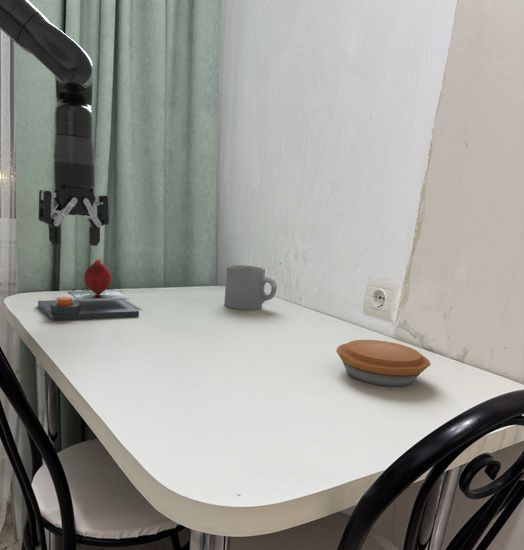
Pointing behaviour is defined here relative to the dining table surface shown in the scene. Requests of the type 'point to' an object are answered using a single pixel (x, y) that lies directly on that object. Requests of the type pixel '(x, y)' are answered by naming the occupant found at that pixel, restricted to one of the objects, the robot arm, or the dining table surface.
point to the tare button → (64, 301)
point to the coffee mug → (247, 287)
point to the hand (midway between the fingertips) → (75, 245)
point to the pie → (382, 362)
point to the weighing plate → (97, 295)
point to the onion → (98, 277)
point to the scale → (87, 310)
